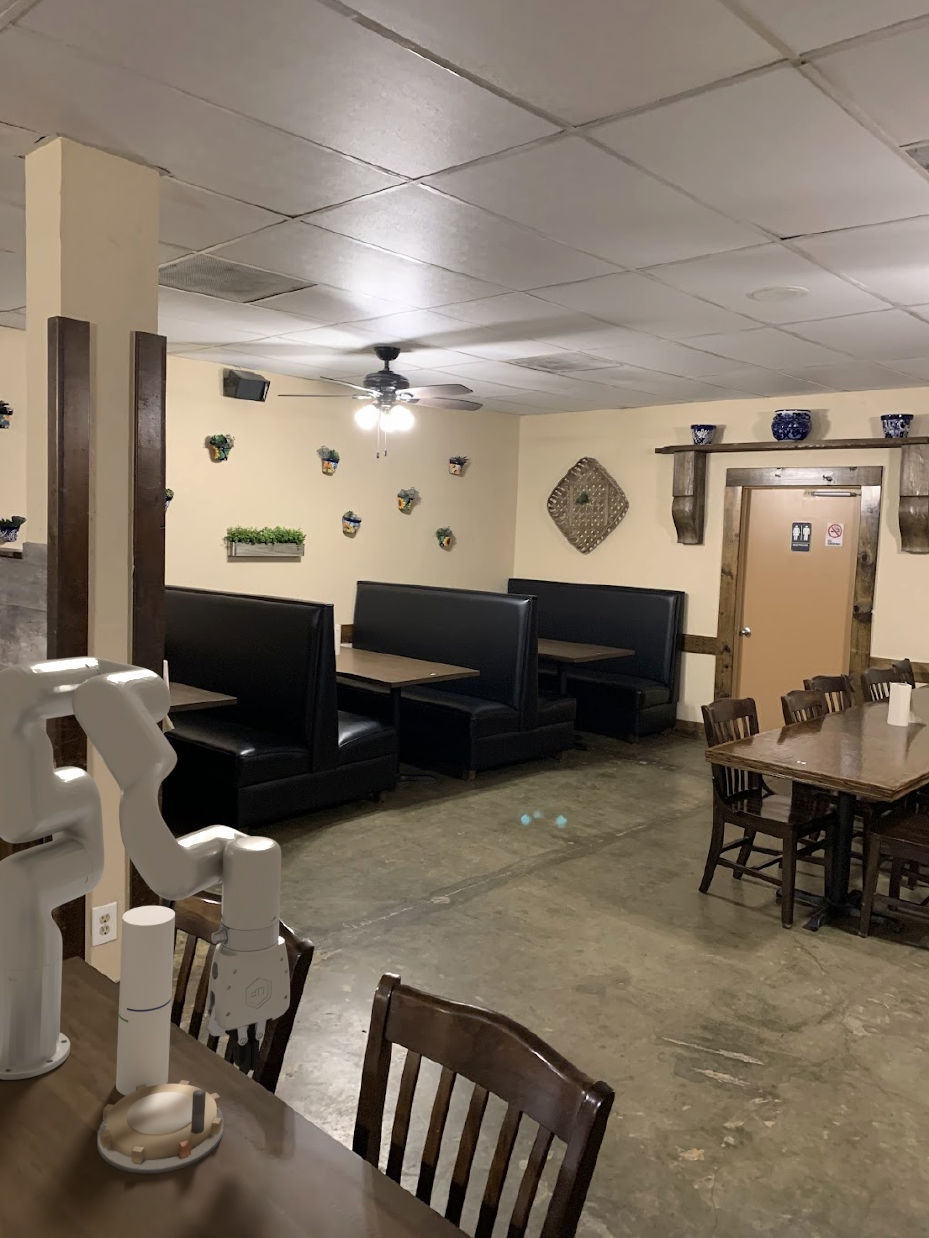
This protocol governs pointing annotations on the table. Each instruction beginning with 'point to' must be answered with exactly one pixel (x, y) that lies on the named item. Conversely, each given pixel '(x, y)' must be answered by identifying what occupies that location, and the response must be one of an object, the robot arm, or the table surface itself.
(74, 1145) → the table surface
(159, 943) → the cylindrical container
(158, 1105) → the dial
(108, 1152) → the dial base
